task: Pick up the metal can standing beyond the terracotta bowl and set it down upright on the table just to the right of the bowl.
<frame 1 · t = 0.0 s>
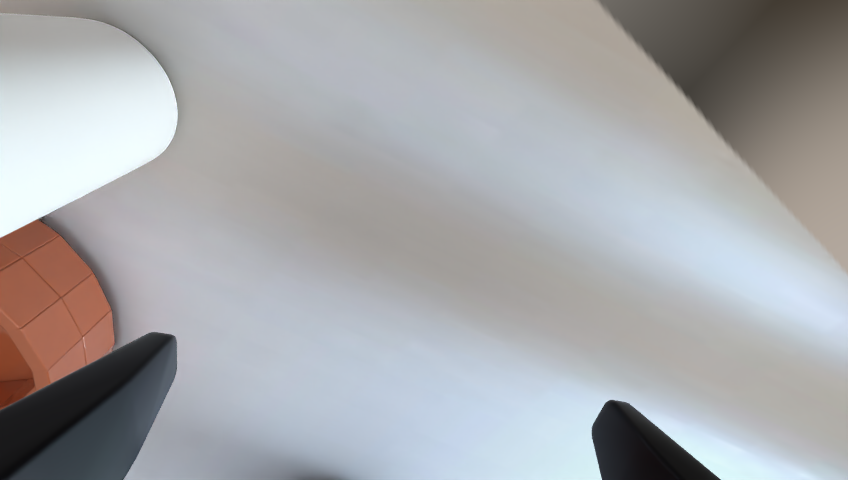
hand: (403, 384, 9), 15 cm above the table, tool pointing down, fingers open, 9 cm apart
can: (111, 95, 20), on the table
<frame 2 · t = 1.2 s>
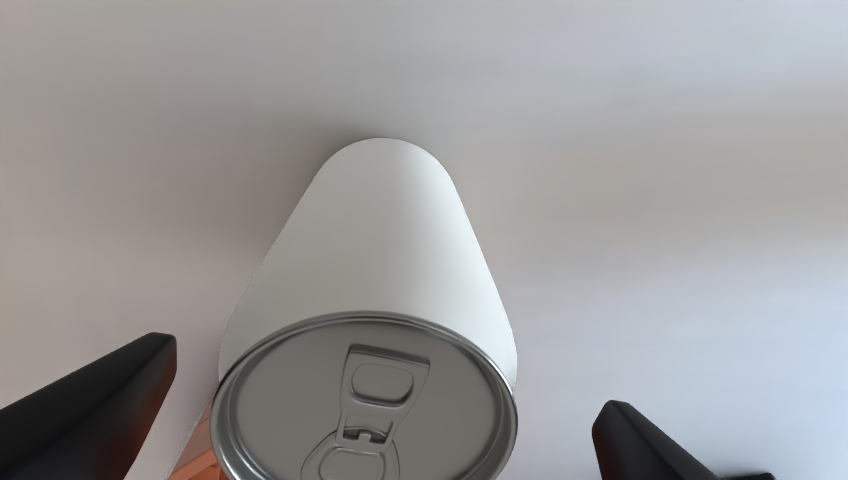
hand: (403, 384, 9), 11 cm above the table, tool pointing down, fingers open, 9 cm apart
bowl: (337, 444, 25), on the table
can: (384, 207, 19), on the table
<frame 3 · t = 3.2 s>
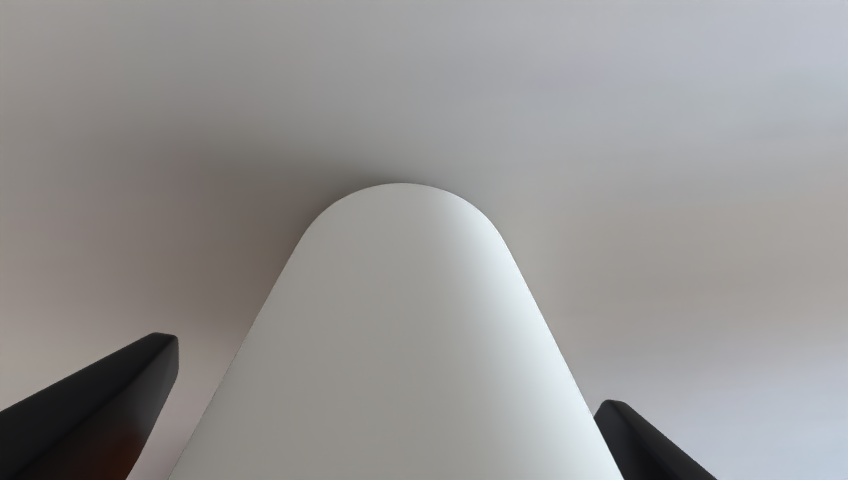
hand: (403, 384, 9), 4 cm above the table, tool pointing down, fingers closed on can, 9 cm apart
can: (403, 277, 13), on the table, touching gripper
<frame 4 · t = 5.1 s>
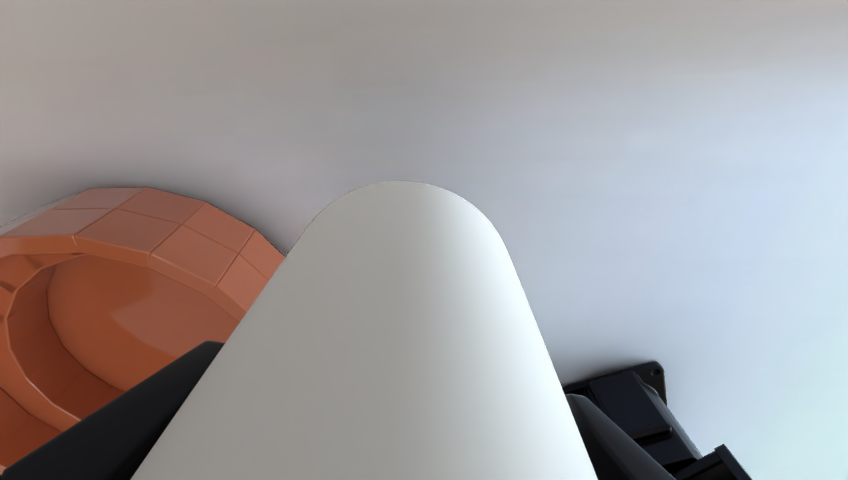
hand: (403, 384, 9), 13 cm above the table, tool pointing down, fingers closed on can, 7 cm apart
bowl: (173, 319, 23), on the table
can: (403, 275, 13), point 8 cm above the table, touching gripper
when the fingers open (5 cm above the table, at t = 8.0 s): can stays where it is, on the table.
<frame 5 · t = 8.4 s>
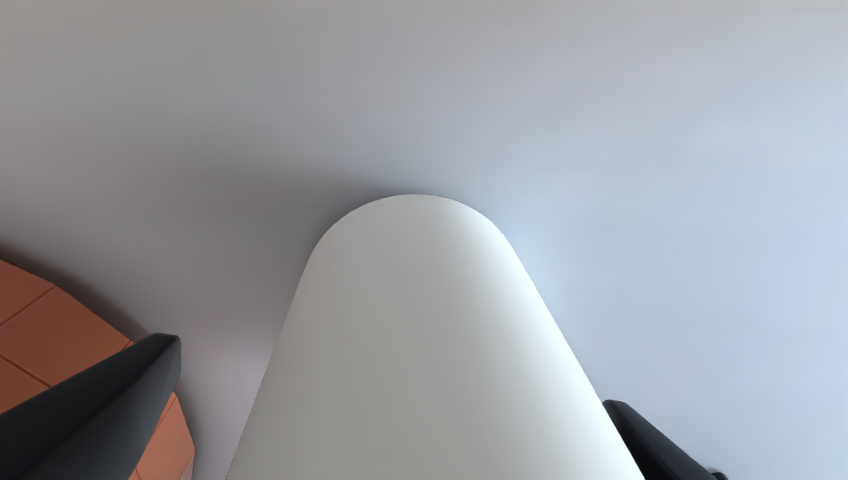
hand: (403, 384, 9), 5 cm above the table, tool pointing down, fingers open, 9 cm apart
can: (412, 284, 13), on the table, touching gripper
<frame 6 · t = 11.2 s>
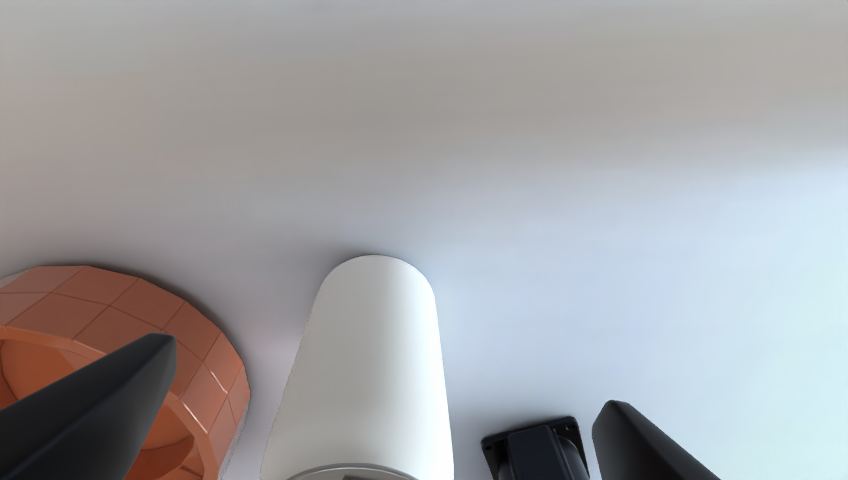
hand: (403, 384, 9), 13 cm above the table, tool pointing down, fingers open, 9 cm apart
bowl: (117, 375, 25), on the table
can: (377, 300, 24), on the table
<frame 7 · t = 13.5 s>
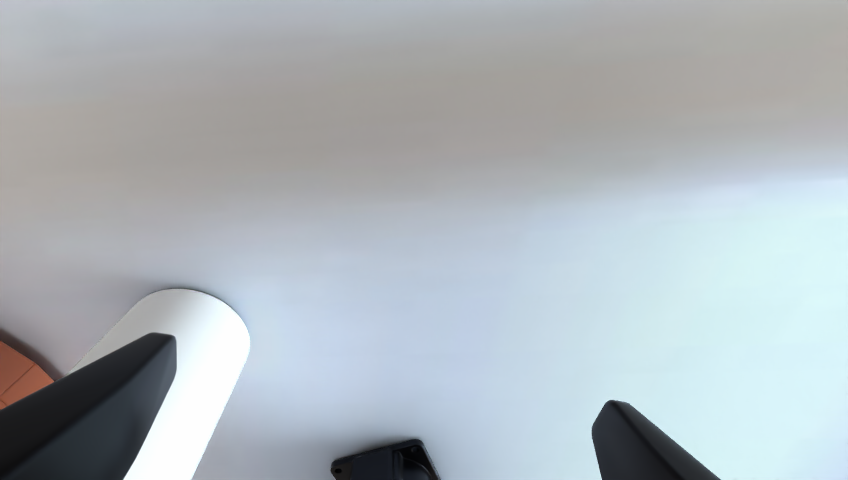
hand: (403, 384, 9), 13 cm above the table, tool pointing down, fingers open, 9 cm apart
can: (194, 330, 24), on the table
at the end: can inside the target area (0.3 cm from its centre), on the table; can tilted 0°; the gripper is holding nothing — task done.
